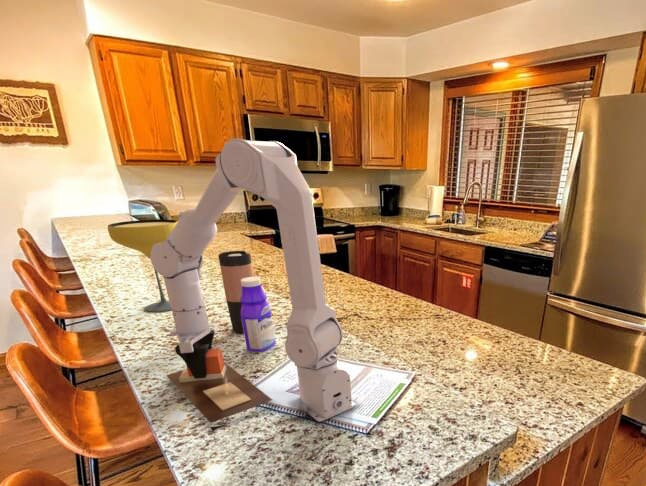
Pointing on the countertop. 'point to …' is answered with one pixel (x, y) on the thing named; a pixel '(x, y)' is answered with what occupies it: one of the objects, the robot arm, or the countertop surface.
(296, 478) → the countertop surface
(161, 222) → the cocktail glass
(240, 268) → the travel mug
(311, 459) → the countertop surface
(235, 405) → the flat brown mat
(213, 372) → the orange cube on base
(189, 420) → the countertop surface
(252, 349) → the bottle
